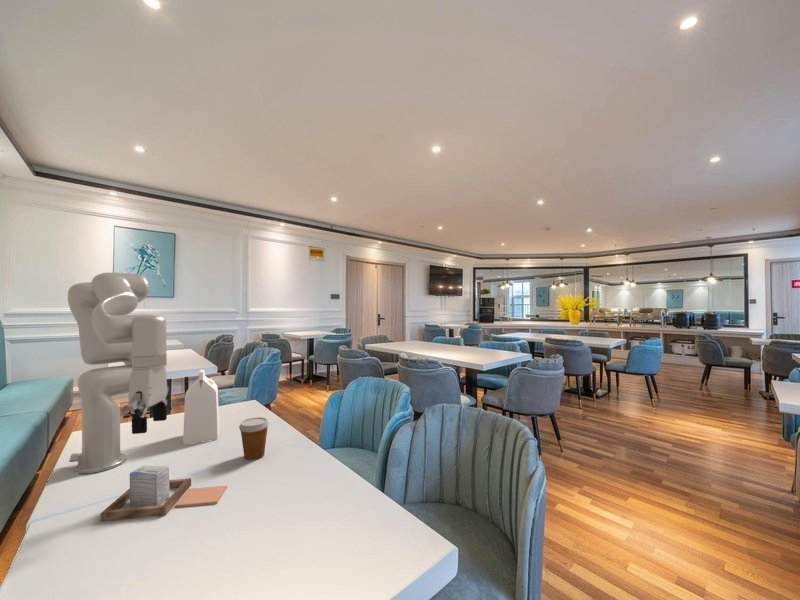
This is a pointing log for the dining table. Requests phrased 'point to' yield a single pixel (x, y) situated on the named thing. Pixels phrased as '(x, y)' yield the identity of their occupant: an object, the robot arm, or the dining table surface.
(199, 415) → the milk
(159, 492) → the medicine box
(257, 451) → the disposable coffee cup
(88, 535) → the dining table surface
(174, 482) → the board
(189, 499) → the terracotta tile
